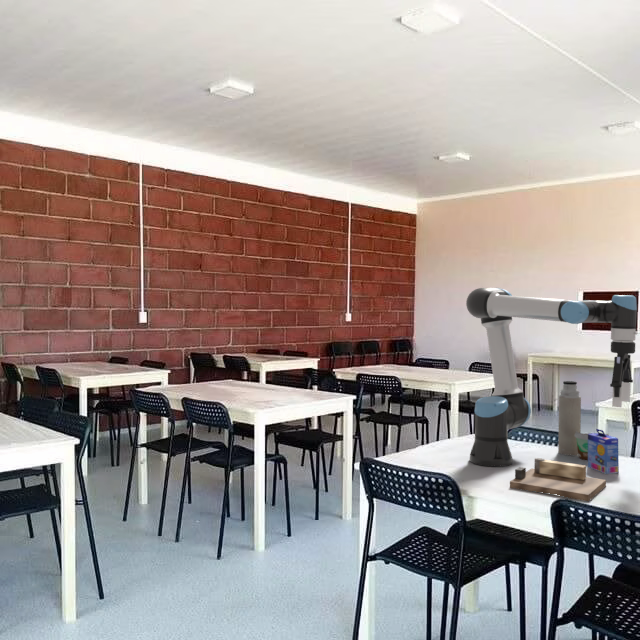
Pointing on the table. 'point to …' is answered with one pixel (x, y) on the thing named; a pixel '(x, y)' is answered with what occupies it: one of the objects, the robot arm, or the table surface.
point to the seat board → (557, 484)
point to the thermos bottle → (569, 418)
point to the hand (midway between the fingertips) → (621, 404)
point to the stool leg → (560, 469)
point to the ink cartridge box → (603, 453)
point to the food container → (582, 445)
